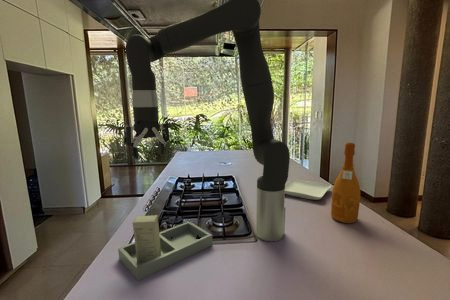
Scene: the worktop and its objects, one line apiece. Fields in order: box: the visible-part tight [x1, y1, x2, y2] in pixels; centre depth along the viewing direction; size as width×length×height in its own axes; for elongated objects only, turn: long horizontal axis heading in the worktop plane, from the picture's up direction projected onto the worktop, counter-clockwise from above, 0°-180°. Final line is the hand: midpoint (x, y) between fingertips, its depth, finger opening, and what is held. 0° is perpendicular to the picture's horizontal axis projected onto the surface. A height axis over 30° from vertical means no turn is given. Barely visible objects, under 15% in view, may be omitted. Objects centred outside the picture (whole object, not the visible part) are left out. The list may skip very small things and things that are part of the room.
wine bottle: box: [330, 142, 361, 224], centre depth 99 cm, size 10×10×30 cm
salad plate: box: [285, 178, 333, 201], centre depth 131 cm, size 21×21×3 cm
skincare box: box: [132, 214, 161, 261], centre depth 75 cm, size 6×4×12 cm
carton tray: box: [117, 221, 213, 281], centre depth 80 cm, size 25×13×4 cm, turn 132°
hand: (148, 156), depth 84 cm, fingers open, 8 cm apart
